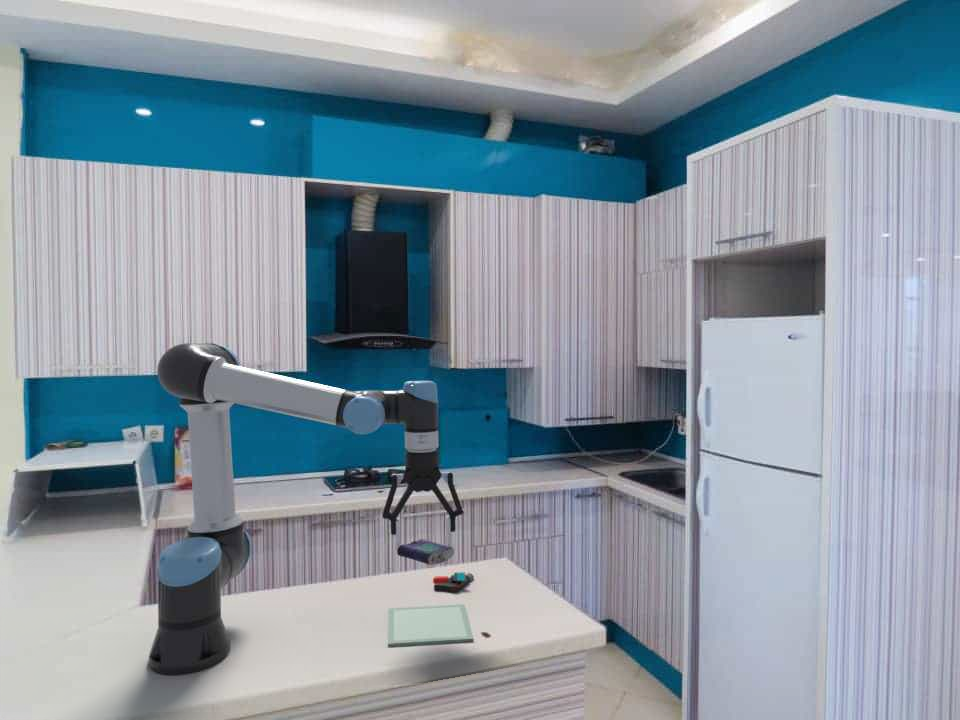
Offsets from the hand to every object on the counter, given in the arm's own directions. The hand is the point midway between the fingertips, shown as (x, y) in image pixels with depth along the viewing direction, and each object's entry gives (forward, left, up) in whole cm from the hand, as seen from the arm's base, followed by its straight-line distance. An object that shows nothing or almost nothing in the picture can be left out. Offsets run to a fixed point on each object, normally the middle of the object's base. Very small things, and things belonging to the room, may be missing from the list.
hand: (423, 547), depth 142 cm
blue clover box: (-3, -1, -3) cm, 4 cm away
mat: (+1, 0, -18) cm, 18 cm away
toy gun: (+8, +23, -18) cm, 30 cm away
